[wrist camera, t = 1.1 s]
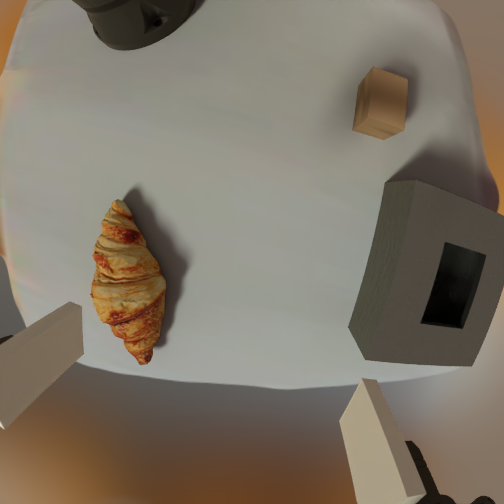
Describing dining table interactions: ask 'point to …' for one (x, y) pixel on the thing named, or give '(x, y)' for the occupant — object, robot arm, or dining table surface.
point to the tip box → (429, 278)
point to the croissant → (128, 284)
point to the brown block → (381, 104)
